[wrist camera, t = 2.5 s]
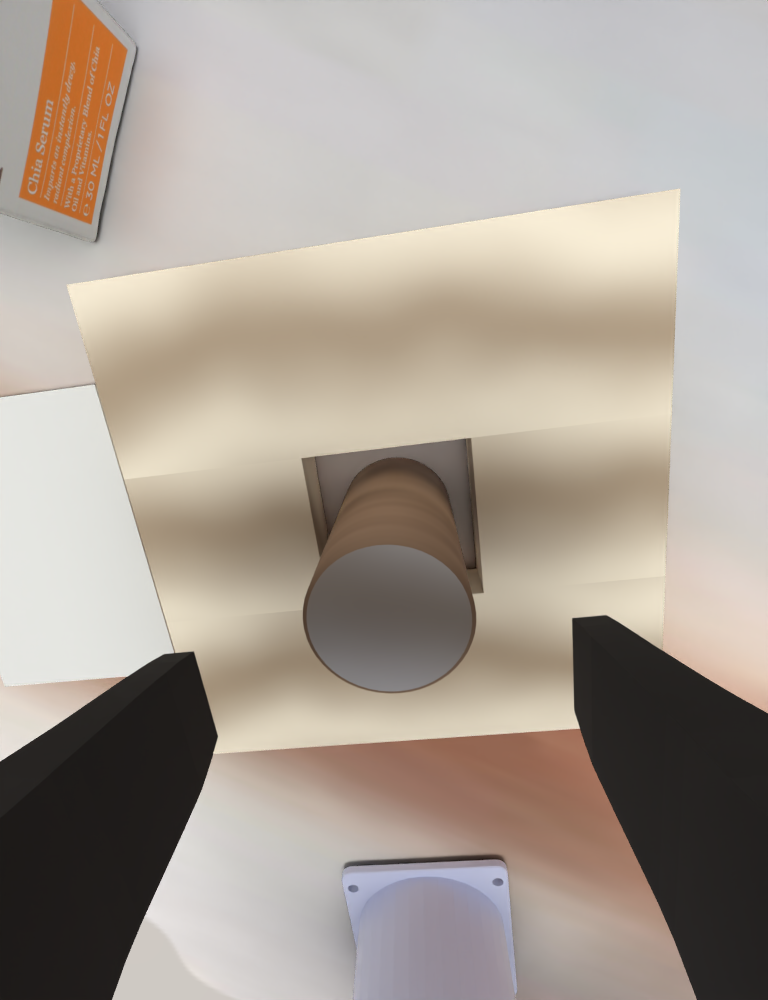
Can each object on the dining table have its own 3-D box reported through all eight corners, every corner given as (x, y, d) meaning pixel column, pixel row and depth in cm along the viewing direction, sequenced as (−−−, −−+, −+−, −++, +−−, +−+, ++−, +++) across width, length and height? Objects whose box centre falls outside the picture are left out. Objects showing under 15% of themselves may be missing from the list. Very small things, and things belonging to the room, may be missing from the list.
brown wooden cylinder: (454, 551, 20) (482, 688, 12) (353, 561, 20) (317, 700, 12) (444, 451, 18) (469, 531, 11) (337, 464, 19) (287, 551, 11)
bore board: (637, 688, 21) (659, 722, 19) (222, 719, 23) (205, 754, 21) (647, 206, 16) (680, 188, 14) (104, 290, 17) (66, 284, 15)
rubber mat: (184, 664, 22) (179, 671, 21) (13, 679, 23) (5, 686, 22) (102, 383, 18) (94, 384, 18) (-98, 410, 19) (-111, 412, 18)
